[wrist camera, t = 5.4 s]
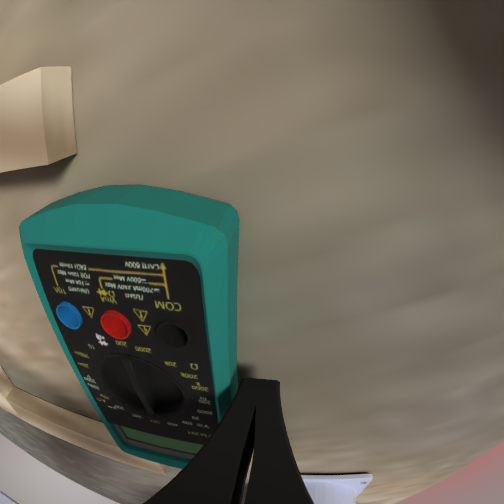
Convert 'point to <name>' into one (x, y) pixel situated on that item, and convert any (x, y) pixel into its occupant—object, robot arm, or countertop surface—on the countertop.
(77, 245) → the digital multimeter
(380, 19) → the countertop surface
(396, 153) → the countertop surface
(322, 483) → the robot arm
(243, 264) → the countertop surface
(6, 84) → the notched board
